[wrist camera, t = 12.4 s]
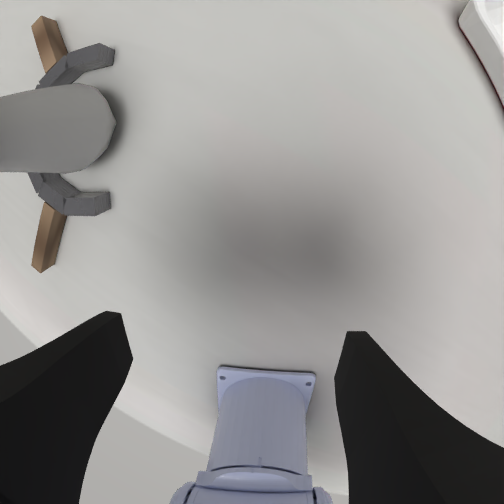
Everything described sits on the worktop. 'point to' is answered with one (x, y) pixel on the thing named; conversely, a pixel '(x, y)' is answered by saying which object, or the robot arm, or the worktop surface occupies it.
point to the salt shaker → (54, 129)
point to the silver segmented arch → (51, 183)
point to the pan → (487, 37)
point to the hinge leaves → (50, 219)
